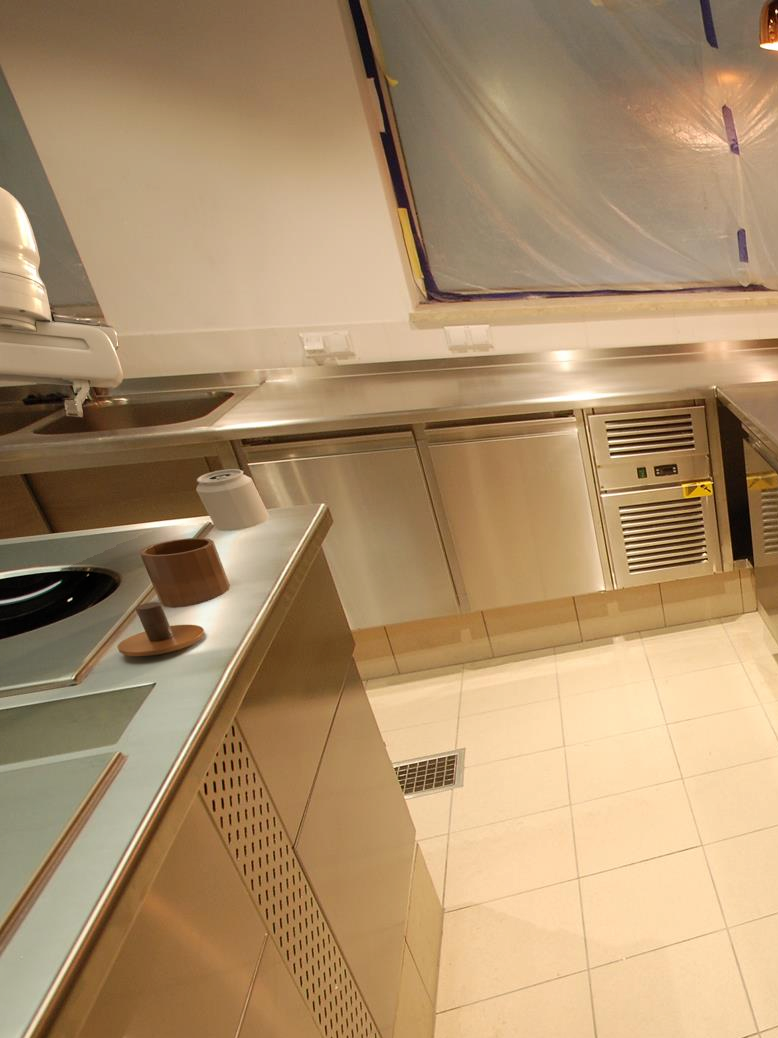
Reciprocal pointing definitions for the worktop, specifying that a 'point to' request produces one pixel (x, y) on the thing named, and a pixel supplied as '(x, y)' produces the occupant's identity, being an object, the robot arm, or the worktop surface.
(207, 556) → the wooden cylinder
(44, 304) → the robot arm
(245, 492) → the can
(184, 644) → the basket lid
